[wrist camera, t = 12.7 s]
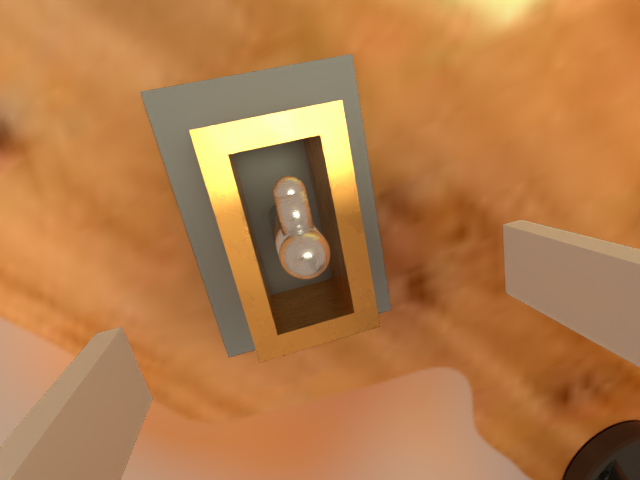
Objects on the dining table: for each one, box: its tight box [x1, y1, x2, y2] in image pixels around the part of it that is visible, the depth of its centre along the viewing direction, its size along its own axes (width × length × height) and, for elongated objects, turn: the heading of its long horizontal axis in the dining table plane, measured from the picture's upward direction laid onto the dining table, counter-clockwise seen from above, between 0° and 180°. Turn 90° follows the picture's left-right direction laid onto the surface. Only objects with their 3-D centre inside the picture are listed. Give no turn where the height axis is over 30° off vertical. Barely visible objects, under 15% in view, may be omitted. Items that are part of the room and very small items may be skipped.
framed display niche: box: [189, 100, 380, 363], centre depth 22 cm, size 14×8×6 cm, turn 12°
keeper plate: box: [140, 54, 391, 357], centre depth 26 cm, size 20×14×1 cm
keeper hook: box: [269, 176, 330, 280], centre depth 20 cm, size 5×2×10 cm, turn 12°
